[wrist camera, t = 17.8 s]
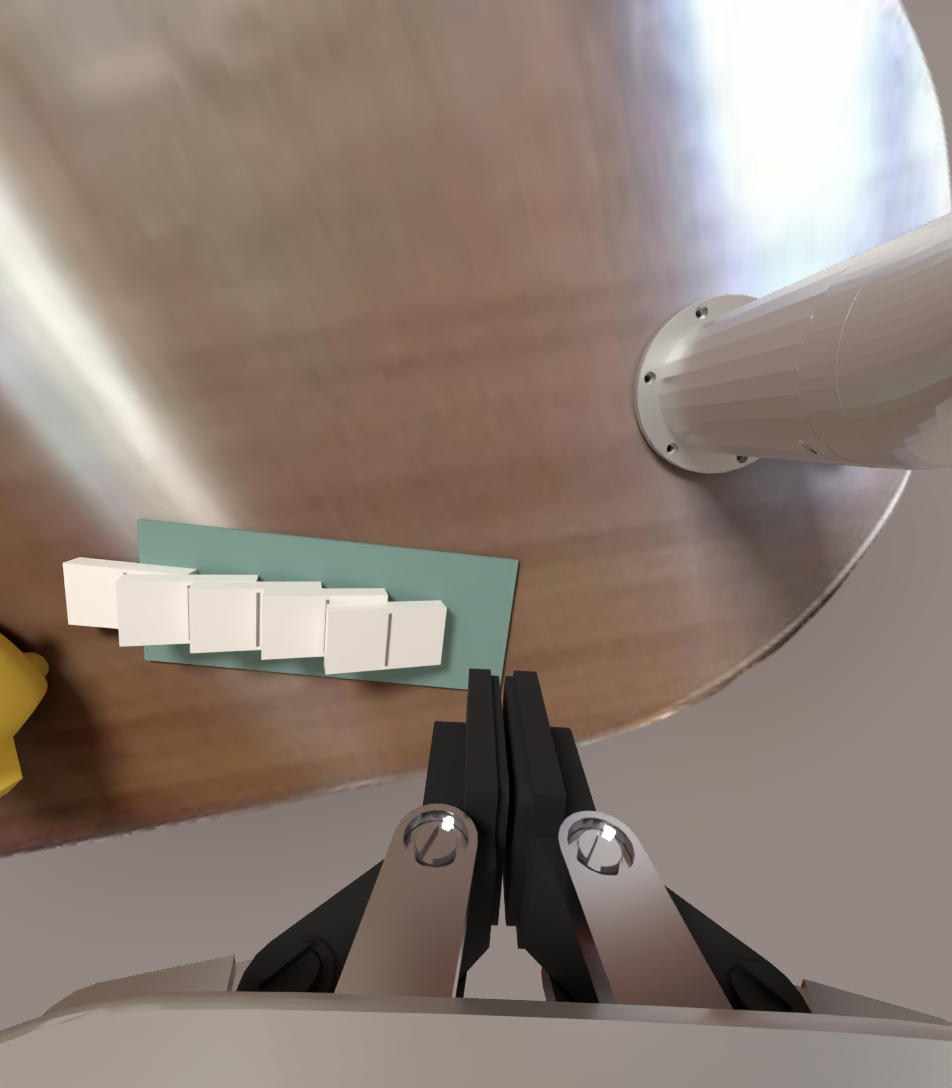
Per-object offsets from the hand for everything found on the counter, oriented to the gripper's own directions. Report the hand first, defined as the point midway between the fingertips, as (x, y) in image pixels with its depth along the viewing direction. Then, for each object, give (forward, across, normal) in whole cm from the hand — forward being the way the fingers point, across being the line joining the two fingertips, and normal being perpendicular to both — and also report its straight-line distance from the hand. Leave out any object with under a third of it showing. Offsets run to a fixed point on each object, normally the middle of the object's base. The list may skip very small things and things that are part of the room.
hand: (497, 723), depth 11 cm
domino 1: (+24, +23, +8) cm, 34 cm away
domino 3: (+25, +13, +8) cm, 29 cm away
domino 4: (+25, +8, +9) cm, 27 cm away
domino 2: (+25, +18, +8) cm, 31 cm away
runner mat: (+26, +12, +9) cm, 30 cm away
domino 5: (+25, +3, +10) cm, 27 cm away
